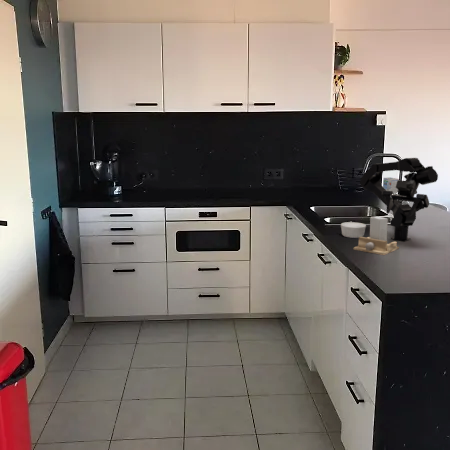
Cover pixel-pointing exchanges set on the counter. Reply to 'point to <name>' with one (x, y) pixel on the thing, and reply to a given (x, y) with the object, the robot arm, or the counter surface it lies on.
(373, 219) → the skincare box
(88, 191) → the counter surface
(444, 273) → the counter surface
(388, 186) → the light bulb box
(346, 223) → the ramekin
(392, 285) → the counter surface
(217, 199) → the counter surface
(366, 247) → the cradle
